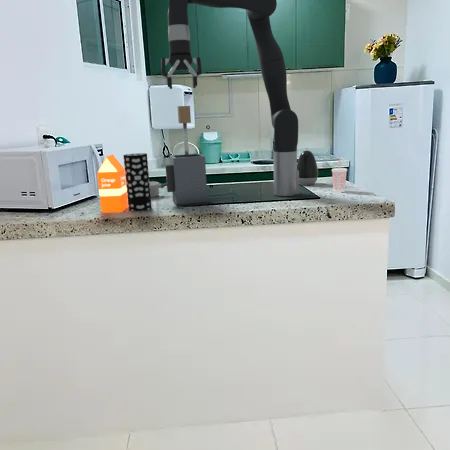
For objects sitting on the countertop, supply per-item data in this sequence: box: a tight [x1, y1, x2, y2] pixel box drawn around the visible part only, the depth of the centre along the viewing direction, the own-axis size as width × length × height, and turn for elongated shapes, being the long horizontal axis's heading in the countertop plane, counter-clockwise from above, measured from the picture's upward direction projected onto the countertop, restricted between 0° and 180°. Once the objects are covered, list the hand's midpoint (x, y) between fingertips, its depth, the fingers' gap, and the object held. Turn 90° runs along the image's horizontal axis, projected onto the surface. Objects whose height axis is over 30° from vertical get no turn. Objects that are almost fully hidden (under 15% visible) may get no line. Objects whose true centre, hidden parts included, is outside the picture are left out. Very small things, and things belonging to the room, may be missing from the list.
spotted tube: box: [122, 152, 152, 212], centre depth 161 cm, size 8×8×20 cm
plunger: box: [176, 105, 192, 157], centre depth 165 cm, size 9×9×25 cm
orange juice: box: [96, 154, 129, 214], centre depth 162 cm, size 8×9×20 cm
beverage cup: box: [331, 156, 348, 193], centre depth 179 cm, size 6×6×14 cm
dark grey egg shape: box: [297, 150, 319, 186], centre depth 198 cm, size 10×10×15 cm
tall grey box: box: [164, 153, 208, 208], centre depth 168 cm, size 14×12×18 cm
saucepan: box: [149, 181, 167, 199], centre depth 188 cm, size 12×20×6 cm, turn 98°
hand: (182, 88), depth 160 cm, fingers open, 8 cm apart
